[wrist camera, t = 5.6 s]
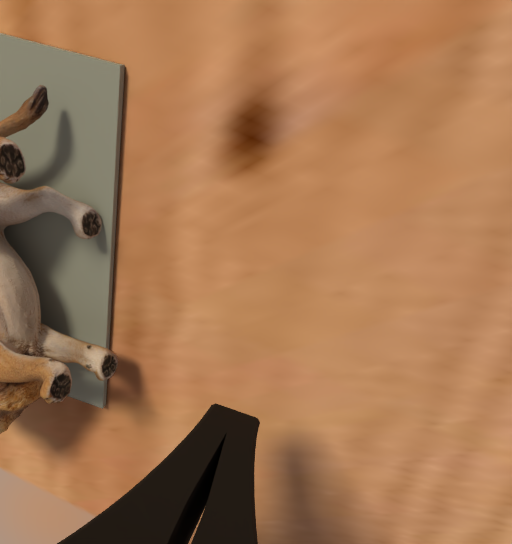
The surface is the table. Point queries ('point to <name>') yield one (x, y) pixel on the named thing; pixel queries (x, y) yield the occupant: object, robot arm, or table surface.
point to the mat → (68, 188)
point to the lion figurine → (23, 292)
